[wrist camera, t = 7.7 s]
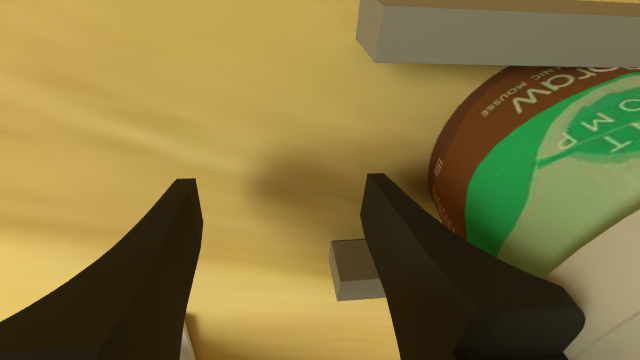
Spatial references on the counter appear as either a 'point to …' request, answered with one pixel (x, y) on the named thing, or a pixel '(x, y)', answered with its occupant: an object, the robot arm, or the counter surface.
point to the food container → (553, 189)
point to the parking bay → (482, 62)
